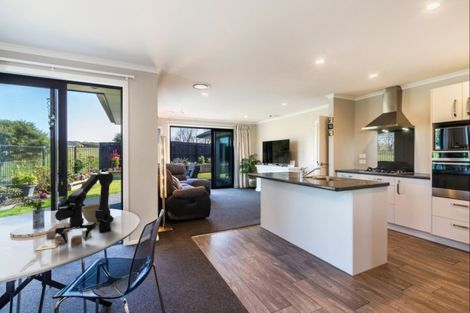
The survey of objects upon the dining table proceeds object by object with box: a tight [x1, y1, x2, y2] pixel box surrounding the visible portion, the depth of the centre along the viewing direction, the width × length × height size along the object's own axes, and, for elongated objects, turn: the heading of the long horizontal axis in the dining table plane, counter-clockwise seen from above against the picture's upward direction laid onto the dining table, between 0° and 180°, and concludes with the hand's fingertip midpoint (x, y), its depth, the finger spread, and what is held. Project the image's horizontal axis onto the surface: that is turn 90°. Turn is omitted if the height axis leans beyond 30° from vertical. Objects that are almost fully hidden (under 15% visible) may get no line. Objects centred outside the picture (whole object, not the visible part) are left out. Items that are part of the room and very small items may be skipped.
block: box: [81, 228, 92, 239], centre depth 143 cm, size 4×4×4 cm
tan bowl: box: [82, 203, 111, 225], centre depth 169 cm, size 18×18×12 cm
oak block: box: [54, 231, 69, 244], centre depth 135 cm, size 5×5×4 cm
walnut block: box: [70, 234, 83, 247], centre depth 131 cm, size 4×4×4 cm
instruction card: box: [34, 242, 60, 252], centre depth 127 cm, size 9×7×1 cm
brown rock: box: [46, 222, 70, 239], centre depth 148 cm, size 17×8×5 cm, turn 20°
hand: (76, 242), depth 131 cm, fingers open, 9 cm apart
